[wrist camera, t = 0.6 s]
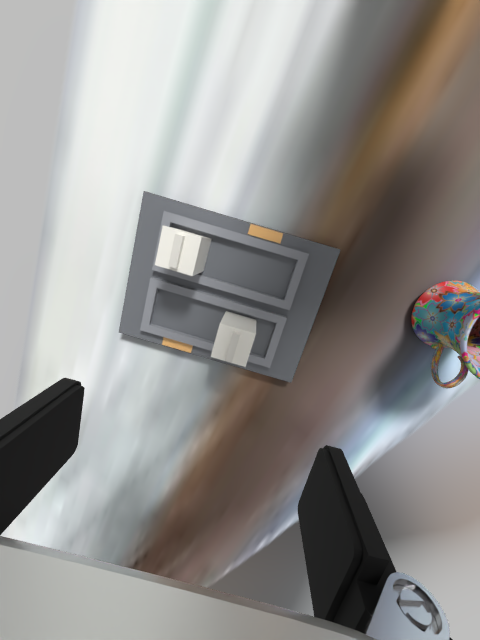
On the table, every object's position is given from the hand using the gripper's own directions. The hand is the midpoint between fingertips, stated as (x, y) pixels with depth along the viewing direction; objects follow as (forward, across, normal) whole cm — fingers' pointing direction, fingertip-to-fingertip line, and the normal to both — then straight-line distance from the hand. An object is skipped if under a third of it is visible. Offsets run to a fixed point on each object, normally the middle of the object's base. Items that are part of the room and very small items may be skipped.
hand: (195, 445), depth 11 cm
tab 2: (+25, 0, +3) cm, 25 cm away
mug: (+27, -25, -5) cm, 37 cm away
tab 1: (+25, +7, -6) cm, 27 cm away
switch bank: (+27, +2, -2) cm, 27 cm away
